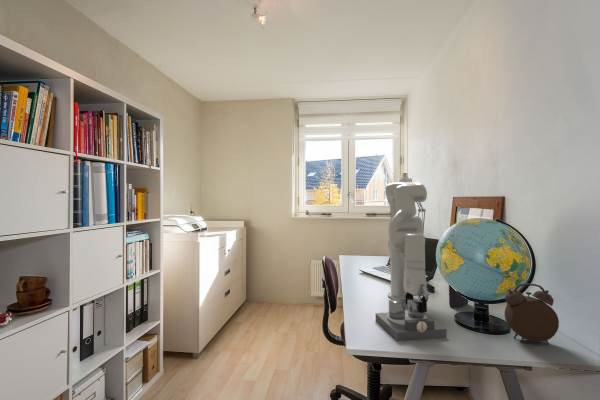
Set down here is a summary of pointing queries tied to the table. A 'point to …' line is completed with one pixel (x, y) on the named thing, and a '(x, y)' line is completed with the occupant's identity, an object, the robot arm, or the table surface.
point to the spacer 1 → (396, 309)
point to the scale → (411, 327)
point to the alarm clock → (531, 315)
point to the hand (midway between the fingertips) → (415, 308)
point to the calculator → (456, 299)
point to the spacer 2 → (414, 309)
